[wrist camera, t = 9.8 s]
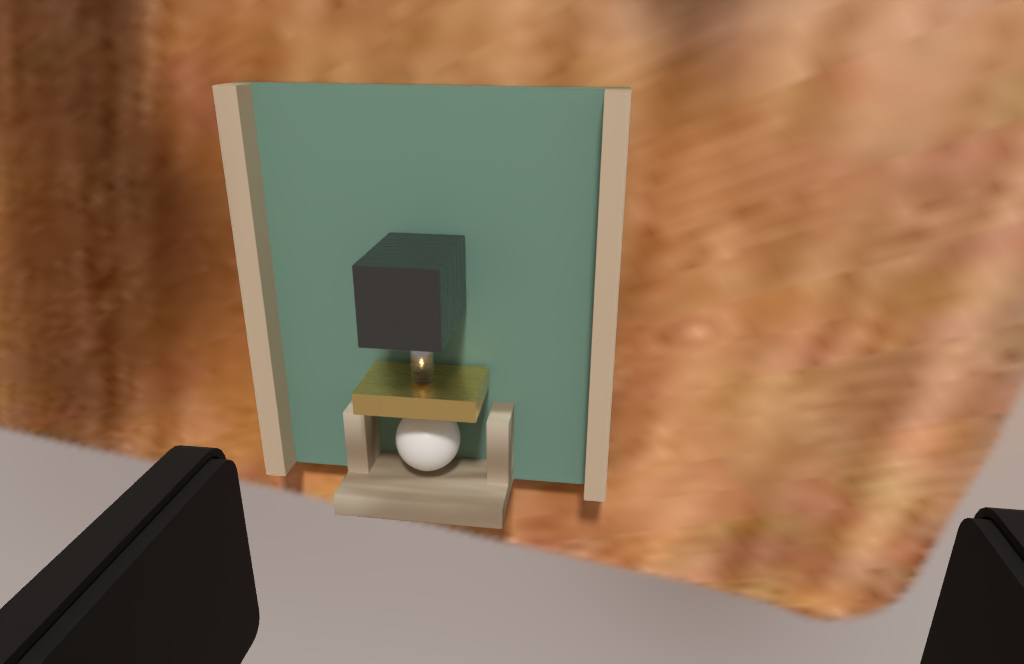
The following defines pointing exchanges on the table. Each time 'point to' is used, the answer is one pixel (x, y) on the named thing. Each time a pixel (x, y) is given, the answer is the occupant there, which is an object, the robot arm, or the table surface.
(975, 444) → the table surface
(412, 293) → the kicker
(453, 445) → the ball
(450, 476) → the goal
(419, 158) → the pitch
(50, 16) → the table surface
